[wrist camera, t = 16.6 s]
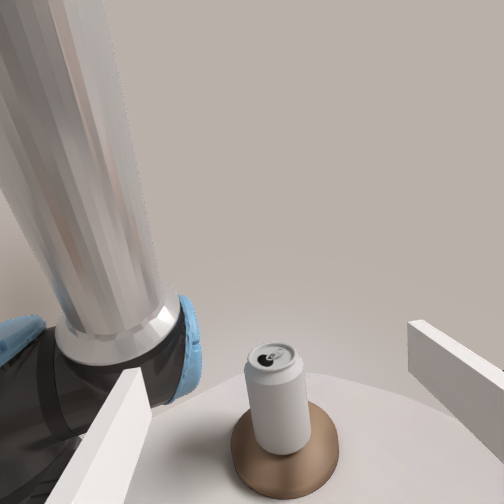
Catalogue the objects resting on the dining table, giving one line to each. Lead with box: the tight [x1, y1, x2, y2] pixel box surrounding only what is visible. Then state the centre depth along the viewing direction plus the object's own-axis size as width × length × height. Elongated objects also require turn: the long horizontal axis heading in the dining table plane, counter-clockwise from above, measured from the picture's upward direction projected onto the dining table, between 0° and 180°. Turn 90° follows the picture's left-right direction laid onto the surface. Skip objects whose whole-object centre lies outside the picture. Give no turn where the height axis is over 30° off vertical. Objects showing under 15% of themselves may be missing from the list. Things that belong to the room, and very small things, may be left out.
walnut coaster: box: [231, 401, 339, 499], centre depth 37 cm, size 14×14×2 cm
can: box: [244, 342, 311, 455], centre depth 36 cm, size 8×8×12 cm
